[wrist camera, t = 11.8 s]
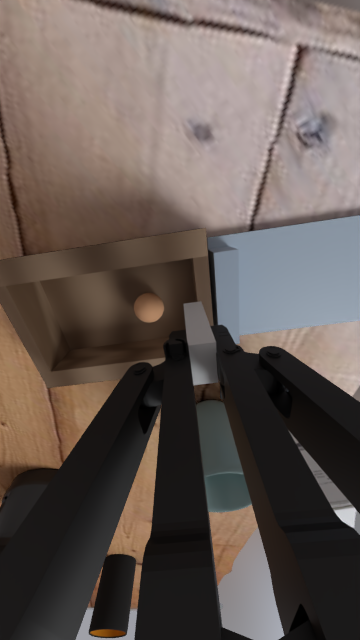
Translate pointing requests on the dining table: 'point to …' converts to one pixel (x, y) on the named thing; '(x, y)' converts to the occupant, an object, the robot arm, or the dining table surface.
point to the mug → (113, 597)
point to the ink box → (330, 490)
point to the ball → (148, 307)
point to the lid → (286, 276)
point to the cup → (220, 459)
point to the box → (103, 303)
